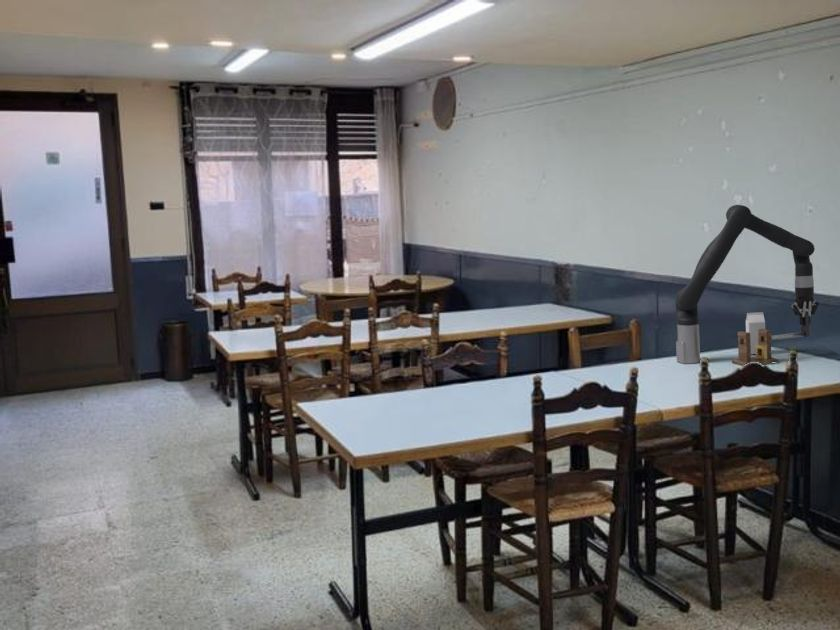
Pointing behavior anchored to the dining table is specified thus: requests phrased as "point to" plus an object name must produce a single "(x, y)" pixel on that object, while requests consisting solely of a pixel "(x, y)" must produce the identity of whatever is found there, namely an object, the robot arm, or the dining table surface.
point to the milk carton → (754, 327)
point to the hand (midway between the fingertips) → (805, 324)
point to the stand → (745, 348)
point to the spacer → (758, 351)
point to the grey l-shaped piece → (803, 332)
